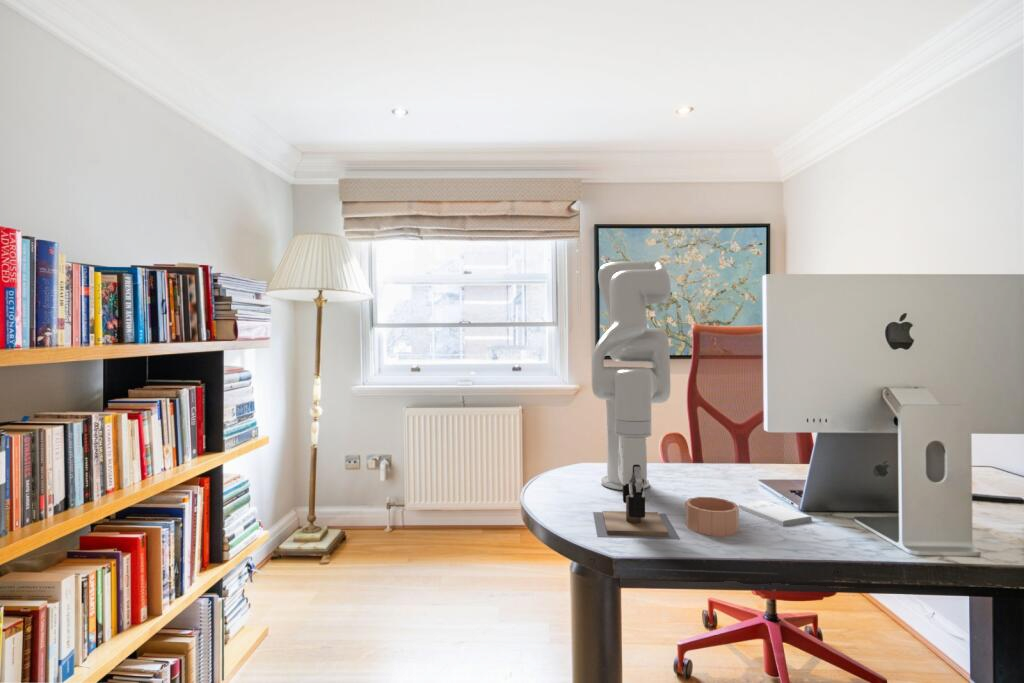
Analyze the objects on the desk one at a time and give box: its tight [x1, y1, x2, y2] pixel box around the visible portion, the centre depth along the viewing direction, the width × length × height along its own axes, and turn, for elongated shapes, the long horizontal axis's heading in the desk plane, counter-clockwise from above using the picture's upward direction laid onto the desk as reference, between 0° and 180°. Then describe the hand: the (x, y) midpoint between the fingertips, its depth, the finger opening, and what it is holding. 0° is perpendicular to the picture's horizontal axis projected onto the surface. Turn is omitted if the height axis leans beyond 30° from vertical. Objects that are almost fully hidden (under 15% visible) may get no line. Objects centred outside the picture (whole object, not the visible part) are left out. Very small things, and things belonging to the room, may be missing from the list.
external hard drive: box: [738, 499, 813, 527], centre depth 118 cm, size 2×8×12 cm
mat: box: [592, 511, 681, 540], centre depth 111 cm, size 15×16×1 cm
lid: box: [602, 495, 668, 536], centre depth 111 cm, size 12×12×6 cm
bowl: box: [685, 496, 740, 537], centre depth 110 cm, size 10×10×5 cm
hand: (633, 509), depth 111 cm, fingers open, 9 cm apart
